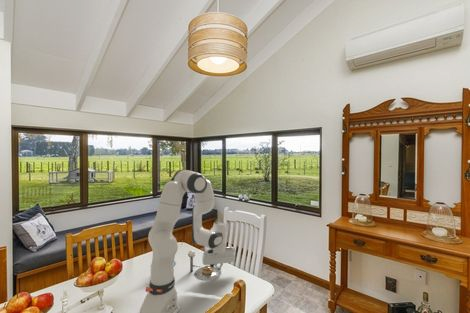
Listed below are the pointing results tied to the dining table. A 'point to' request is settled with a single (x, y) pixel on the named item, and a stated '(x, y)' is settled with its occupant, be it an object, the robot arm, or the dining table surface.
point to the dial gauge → (191, 260)
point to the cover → (207, 270)
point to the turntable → (213, 276)
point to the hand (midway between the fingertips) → (218, 269)
